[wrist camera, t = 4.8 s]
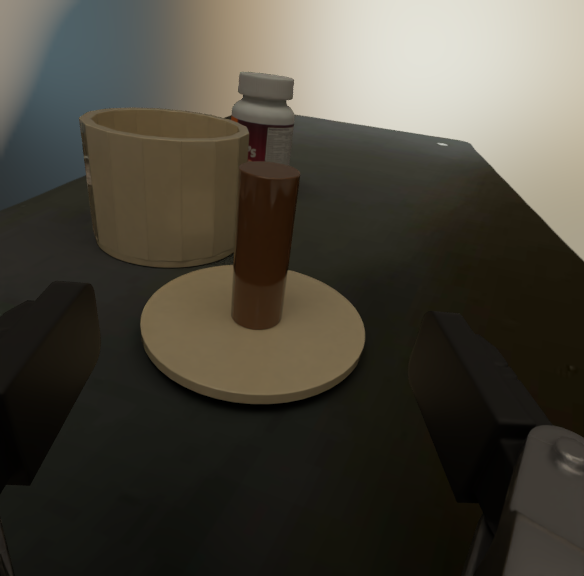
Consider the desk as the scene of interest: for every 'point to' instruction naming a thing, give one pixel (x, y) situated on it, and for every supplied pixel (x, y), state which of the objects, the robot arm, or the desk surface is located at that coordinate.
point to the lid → (254, 310)
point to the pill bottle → (266, 116)
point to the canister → (163, 184)
